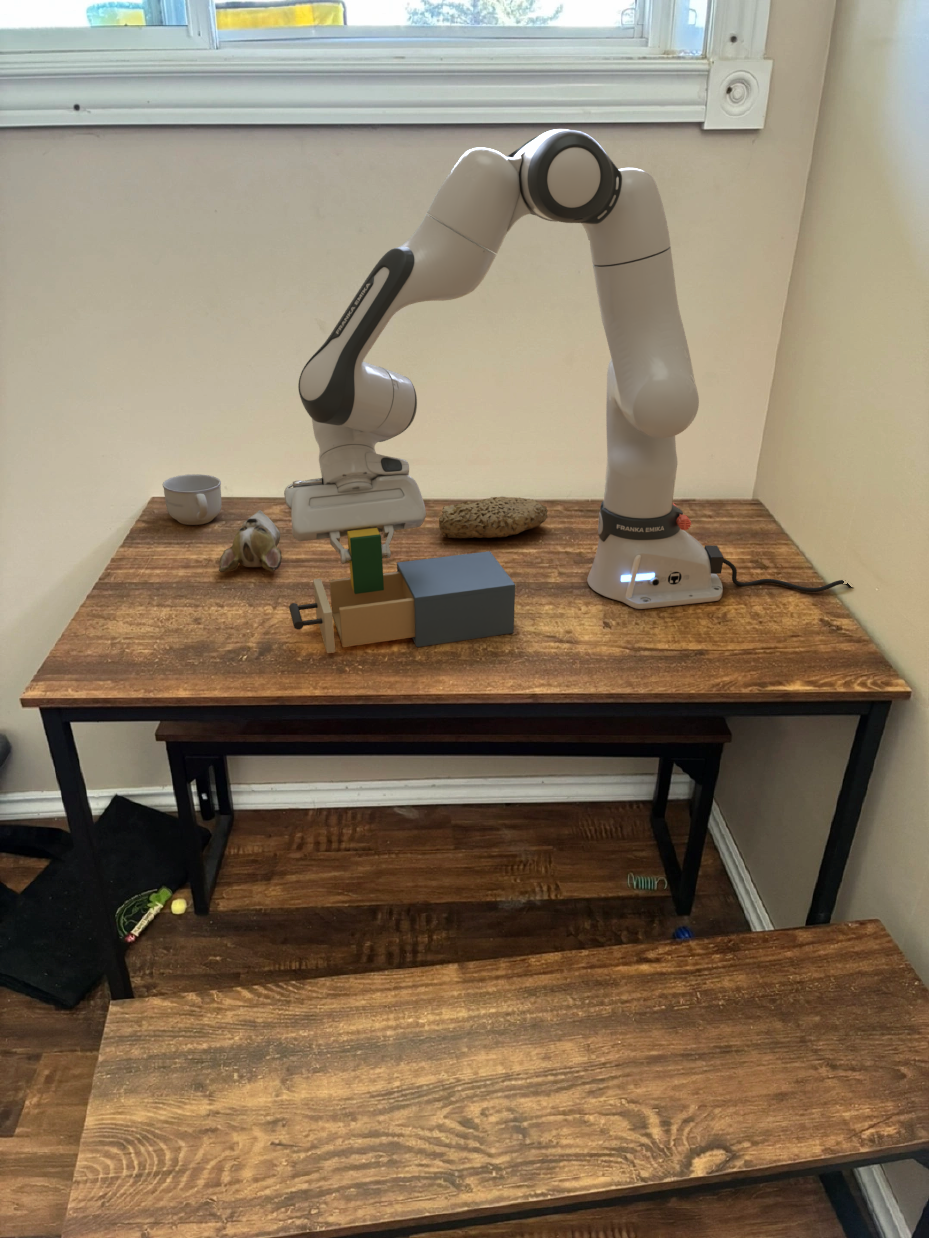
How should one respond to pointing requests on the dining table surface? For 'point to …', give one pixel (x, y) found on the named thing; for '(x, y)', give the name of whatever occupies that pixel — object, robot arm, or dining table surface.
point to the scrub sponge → (366, 560)
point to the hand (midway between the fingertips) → (366, 559)
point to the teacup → (193, 498)
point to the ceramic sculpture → (254, 545)
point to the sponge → (491, 517)
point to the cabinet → (459, 597)
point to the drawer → (360, 612)
